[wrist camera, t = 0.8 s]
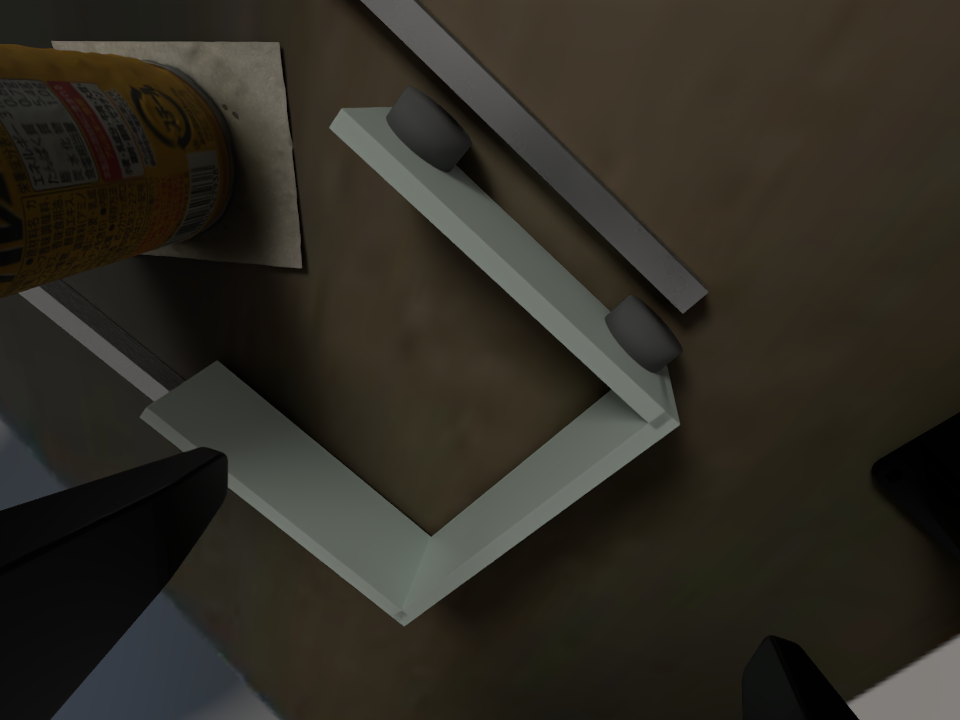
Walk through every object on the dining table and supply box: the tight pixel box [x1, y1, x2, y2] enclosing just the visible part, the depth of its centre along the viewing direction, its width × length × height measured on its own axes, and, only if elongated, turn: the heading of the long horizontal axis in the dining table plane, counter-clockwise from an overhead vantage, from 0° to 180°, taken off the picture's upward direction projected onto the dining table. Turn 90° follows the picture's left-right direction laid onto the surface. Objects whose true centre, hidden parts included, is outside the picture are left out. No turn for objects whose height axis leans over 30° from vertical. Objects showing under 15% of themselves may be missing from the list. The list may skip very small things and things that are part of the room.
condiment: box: [0, 41, 302, 299], centre depth 15 cm, size 7×8×12 cm
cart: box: [140, 86, 683, 626], centre depth 20 cm, size 12×15×4 cm
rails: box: [19, 0, 708, 402], centre depth 20 cm, size 28×19×1 cm, turn 49°
